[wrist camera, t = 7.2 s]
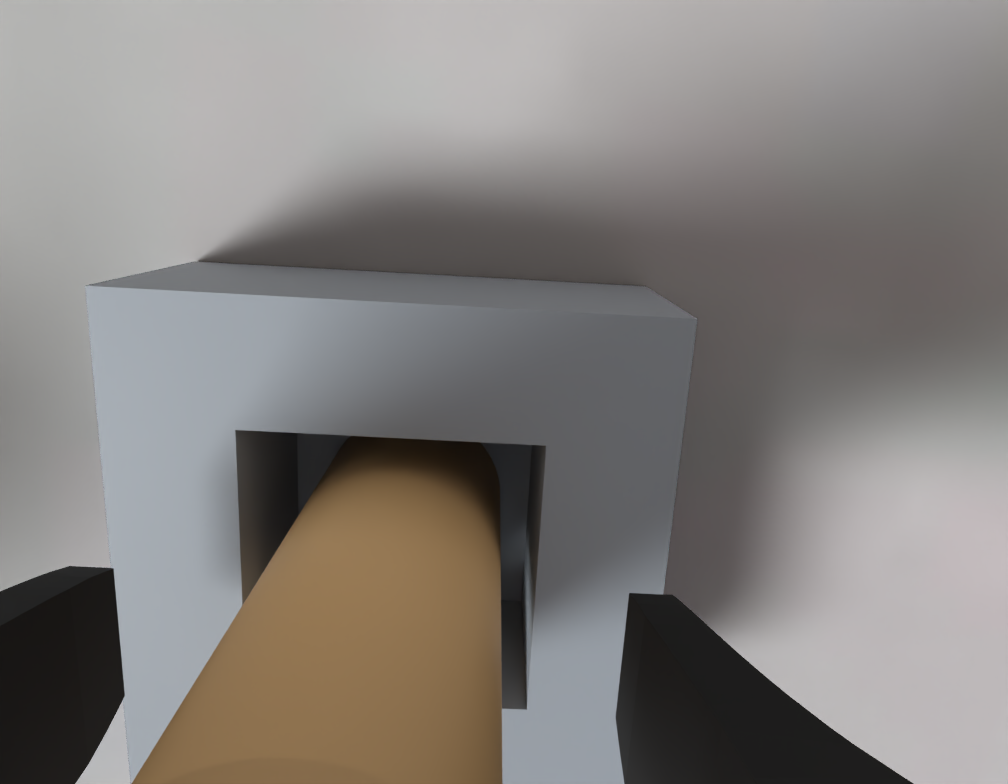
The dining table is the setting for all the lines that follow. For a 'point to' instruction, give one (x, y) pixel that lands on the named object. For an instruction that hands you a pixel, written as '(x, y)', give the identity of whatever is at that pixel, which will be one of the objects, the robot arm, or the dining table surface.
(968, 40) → the dining table surface
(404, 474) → the peg
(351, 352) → the socket block
